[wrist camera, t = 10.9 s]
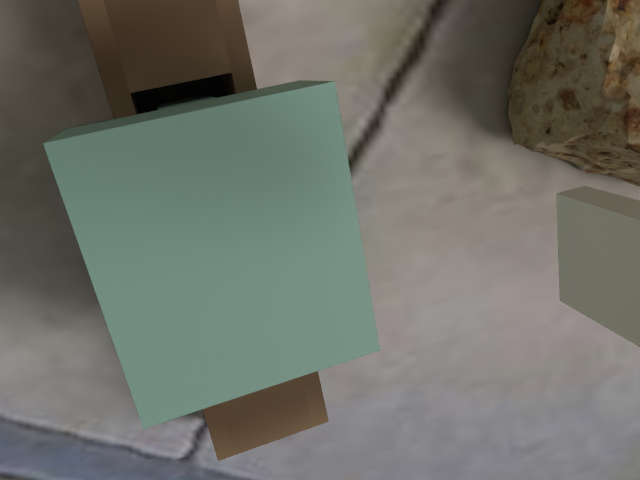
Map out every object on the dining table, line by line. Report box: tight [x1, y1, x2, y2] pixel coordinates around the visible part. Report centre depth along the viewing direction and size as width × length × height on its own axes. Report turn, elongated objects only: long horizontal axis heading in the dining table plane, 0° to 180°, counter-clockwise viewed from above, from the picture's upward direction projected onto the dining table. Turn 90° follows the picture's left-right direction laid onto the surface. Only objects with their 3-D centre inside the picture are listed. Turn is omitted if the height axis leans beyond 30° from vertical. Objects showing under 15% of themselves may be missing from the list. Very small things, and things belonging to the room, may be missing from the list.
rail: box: [78, 0, 328, 461], centre depth 22 cm, size 20×5×3 cm, turn 11°
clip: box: [43, 80, 380, 428], centre depth 20 cm, size 9×8×8 cm
